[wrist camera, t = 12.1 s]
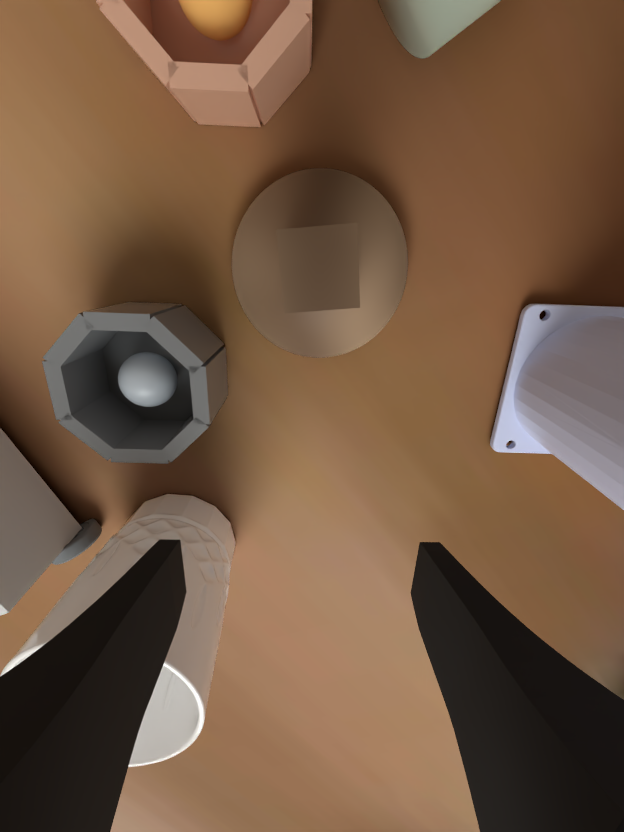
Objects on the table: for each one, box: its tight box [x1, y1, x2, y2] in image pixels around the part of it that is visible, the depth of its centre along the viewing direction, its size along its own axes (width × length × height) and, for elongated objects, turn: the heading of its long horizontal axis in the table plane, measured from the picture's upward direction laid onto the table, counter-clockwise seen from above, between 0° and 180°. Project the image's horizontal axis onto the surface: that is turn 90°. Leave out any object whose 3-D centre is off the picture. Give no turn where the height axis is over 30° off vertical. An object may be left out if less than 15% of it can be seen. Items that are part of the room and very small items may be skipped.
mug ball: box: [118, 352, 177, 407], centre depth 18 cm, size 3×3×3 cm
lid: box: [232, 168, 408, 358], centre depth 16 cm, size 8×8×5 cm
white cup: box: [0, 494, 236, 767], centre depth 19 cm, size 8×8×10 cm
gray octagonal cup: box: [42, 302, 228, 464], centre depth 18 cm, size 7×7×4 cm
